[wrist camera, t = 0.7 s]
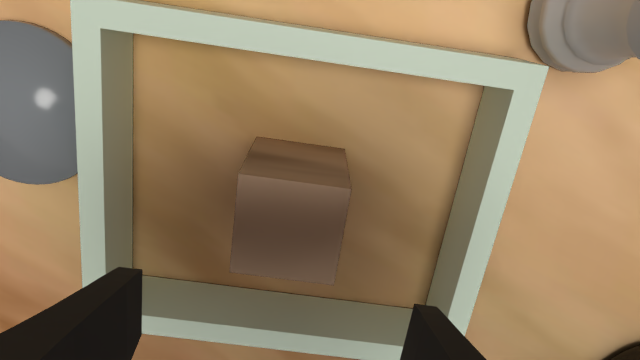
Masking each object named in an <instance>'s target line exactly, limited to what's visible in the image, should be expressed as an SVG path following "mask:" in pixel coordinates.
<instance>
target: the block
mask: <svg viewBox="0 0 640 360" xmlns="http://www.w3.org/2000/svg"><path fill="white" fill-rule="evenodd" d="M350 195H351V183H350V177H349V172H348V166H347V160H346V154H345V149H341V148H334V147H327V146H320V145H313V144H306V143H298V142H291V141H284V140H277V139H270V138H263V137H256V139H255V141H254V143H253V145H252V147H251V149H250V151H249V153H248V155H247V157H246V159H245V161H244V163H243V165H242V167H241V169H240V171H239V173H238V182H237V193H236V205H235V216H234V227H233V238H232V250H231V261H230V272H231V273H239V274H247V275H255V276H263V277H271V278H279V279H287V280H295V281H303V282H311V283H319V284H327V285H334V282H335V277H336V271H337V266H338V261H339V255H340V250H341V244H342V239H343V233H344V228H345V222H346V217H347V211H348V206H349V200H350Z"/></svg>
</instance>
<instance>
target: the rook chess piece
mask: <svg viewBox="0 0 640 360" xmlns="http://www.w3.org/2000/svg"><path fill="white" fill-rule="evenodd" d="M527 28H528V33H529V37H530V42H531V47H532V48H533V49H534V51H535V52H536V53H537V55H538V56H539V57H540V58H541V60H542V61H543V62H544V63H546V64H548V65H550V66H552V67H554V68H556V69H558V70H560V71H570V72H578V73H596V72H600V71H602V70H605V69H608V68H611V67H613V66H616V65H619V64H621V63H622V62H624V61H625V60H627V59H629V58H631V57H637V58H638V59H640V0H532V2H531V6H530V12H529V17H528V23H527Z"/></svg>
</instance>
